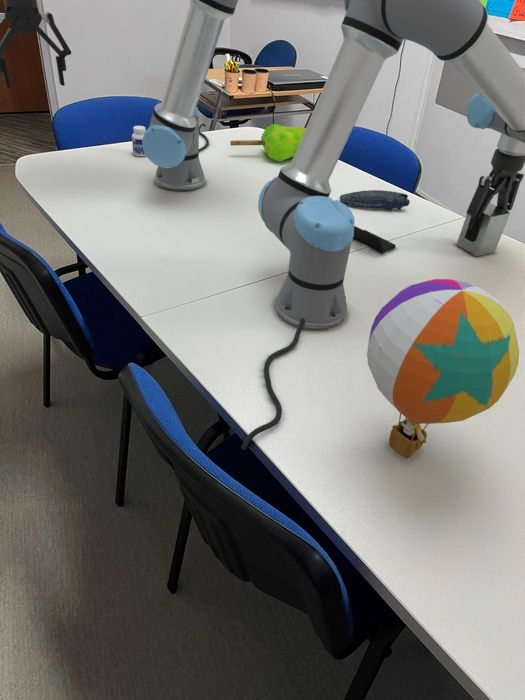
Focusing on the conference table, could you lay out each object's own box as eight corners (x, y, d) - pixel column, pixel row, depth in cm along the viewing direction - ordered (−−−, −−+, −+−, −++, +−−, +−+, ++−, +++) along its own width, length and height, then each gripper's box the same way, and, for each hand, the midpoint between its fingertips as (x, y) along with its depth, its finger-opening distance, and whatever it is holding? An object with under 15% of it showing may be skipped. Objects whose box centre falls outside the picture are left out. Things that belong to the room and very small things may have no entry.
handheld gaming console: (400, 239, 139) (392, 217, 131) (388, 262, 138) (379, 241, 130) (362, 231, 145) (352, 209, 137) (350, 252, 144) (340, 232, 136)
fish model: (408, 214, 157) (412, 198, 153) (339, 207, 158) (341, 191, 154) (406, 206, 162) (410, 190, 159) (339, 199, 163) (341, 183, 160)
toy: (318, 439, 84) (351, 278, 65) (393, 389, 94) (440, 239, 76) (417, 524, 73) (492, 360, 54) (489, 457, 83) (573, 301, 65)
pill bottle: (130, 154, 179) (128, 127, 174) (138, 150, 183) (136, 124, 178) (143, 157, 178) (142, 130, 173) (151, 153, 182) (150, 126, 176)
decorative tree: (227, 120, 186) (308, 120, 191) (227, 150, 193) (305, 149, 198) (234, 135, 173) (321, 134, 178) (234, 166, 179) (317, 165, 184)
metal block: (494, 252, 141) (510, 213, 134) (476, 256, 138) (491, 216, 131) (474, 240, 146) (488, 202, 139) (456, 244, 143) (469, 205, 136)
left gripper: (68, -12, 132) (80, 80, 145) (-42, -16, 122) (-18, 83, 135) (75, -8, 127) (87, 86, 140) (-39, -12, 117) (-14, 90, 130)
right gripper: (526, 143, 133) (494, 226, 147) (471, 149, 124) (442, 237, 138) (551, 152, 128) (515, 237, 142) (495, 160, 119) (463, 249, 133)
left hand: (35, 85), depth 138 cm, fingers open, 13 cm apart
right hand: (479, 237), depth 140 cm, fingers closed on metal block, 7 cm apart
